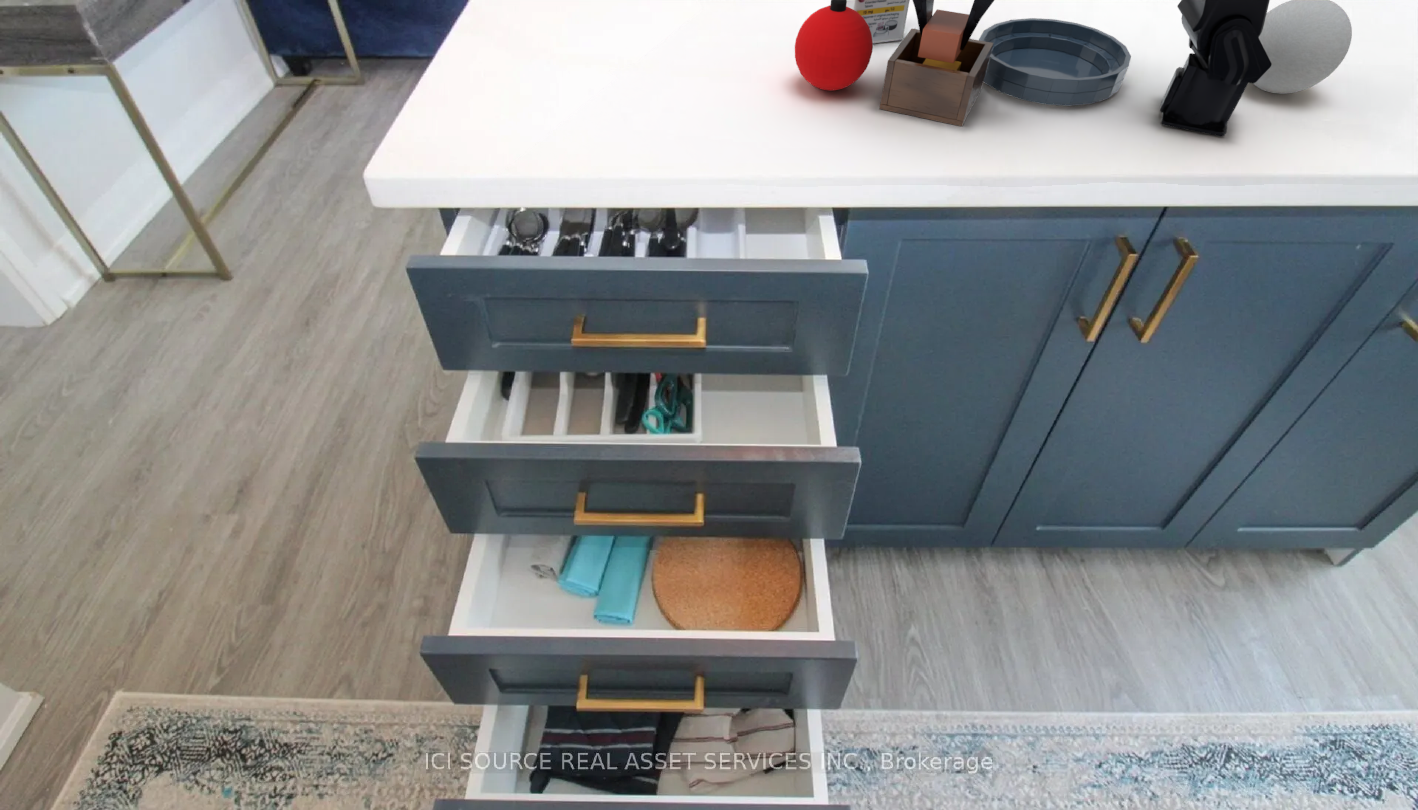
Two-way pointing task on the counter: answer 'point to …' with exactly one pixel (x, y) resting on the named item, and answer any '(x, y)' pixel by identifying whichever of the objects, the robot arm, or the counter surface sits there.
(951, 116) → the holder
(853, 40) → the ornament
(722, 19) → the counter surface
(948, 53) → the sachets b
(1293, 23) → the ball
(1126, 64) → the bowl
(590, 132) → the counter surface
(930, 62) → the yellow block
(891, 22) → the container
